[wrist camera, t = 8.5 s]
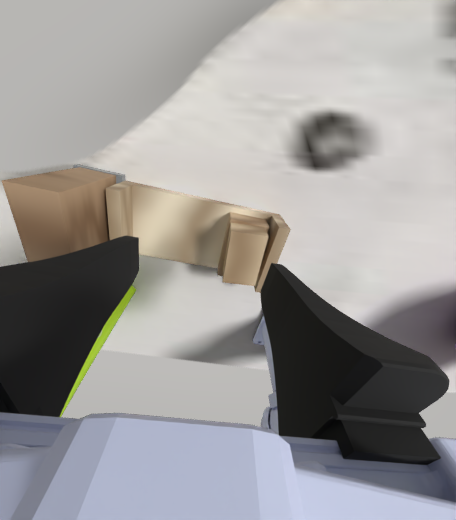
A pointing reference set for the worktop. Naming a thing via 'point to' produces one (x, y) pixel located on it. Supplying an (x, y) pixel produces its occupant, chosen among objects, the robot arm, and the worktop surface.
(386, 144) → the worktop surface
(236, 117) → the worktop surface
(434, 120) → the worktop surface
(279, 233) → the tan wooden stepped block
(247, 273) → the offcut upper
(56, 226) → the tall offcut
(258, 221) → the offcut lower
